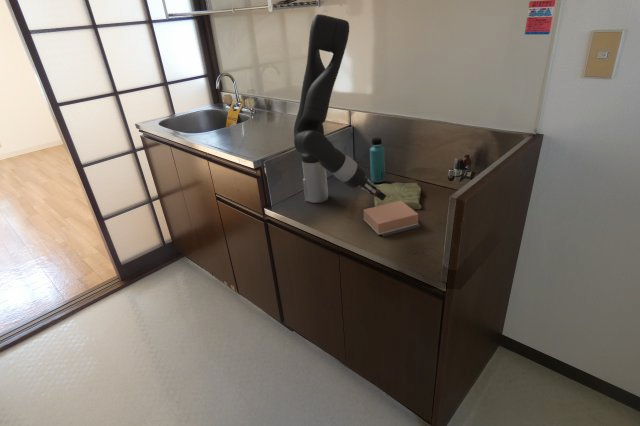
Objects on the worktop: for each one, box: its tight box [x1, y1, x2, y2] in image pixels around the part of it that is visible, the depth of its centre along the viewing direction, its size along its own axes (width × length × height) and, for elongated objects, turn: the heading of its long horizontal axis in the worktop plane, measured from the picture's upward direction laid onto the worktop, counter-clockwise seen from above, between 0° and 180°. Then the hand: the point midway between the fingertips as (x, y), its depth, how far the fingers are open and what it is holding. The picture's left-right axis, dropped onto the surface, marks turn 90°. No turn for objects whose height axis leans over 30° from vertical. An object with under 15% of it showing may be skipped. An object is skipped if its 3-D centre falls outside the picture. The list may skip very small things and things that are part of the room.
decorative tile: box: [373, 182, 422, 210], centre depth 153 cm, size 19×20×4 cm
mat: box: [380, 223, 420, 237], centre depth 136 cm, size 14×13×1 cm
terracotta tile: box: [363, 201, 419, 235], centre depth 135 cm, size 4×12×15 cm
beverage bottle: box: [369, 137, 387, 183], centre depth 164 cm, size 6×7×20 cm
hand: (383, 197), depth 130 cm, fingers closed
